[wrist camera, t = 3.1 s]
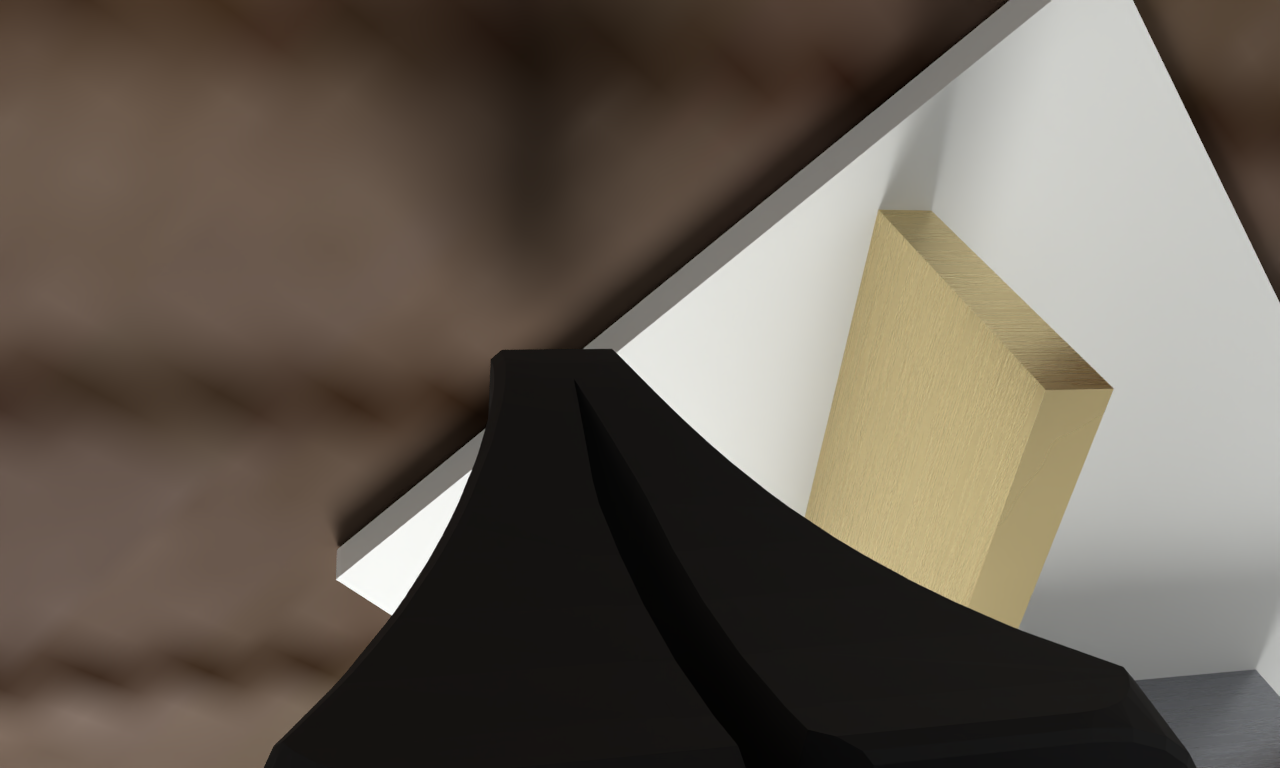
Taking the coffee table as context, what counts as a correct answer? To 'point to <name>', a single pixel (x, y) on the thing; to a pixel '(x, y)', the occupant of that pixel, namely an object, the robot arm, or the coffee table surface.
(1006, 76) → the board
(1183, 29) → the coffee table surface
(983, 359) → the loose leaf
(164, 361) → the coffee table surface
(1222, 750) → the hinge fixed
